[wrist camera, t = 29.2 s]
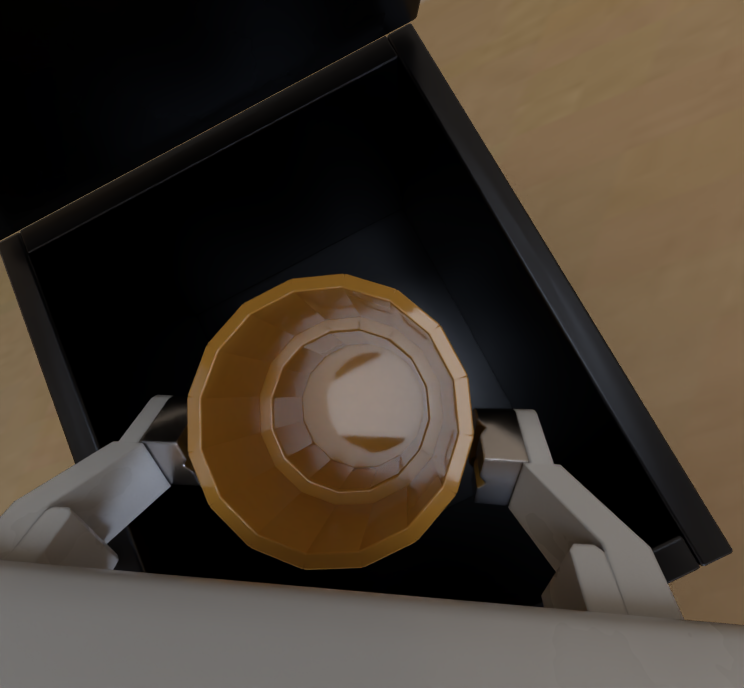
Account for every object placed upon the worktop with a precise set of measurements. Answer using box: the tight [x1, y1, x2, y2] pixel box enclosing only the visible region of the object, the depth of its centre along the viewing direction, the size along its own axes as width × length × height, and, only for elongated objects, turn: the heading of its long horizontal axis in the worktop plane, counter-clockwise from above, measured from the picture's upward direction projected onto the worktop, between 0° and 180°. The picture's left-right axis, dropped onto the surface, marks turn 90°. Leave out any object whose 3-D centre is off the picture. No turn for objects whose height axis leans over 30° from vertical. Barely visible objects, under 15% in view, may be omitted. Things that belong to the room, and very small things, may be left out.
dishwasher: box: [0, 24, 733, 607], centre depth 15 cm, size 16×14×10 cm
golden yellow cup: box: [187, 274, 474, 570], centre depth 12 cm, size 6×6×8 cm
